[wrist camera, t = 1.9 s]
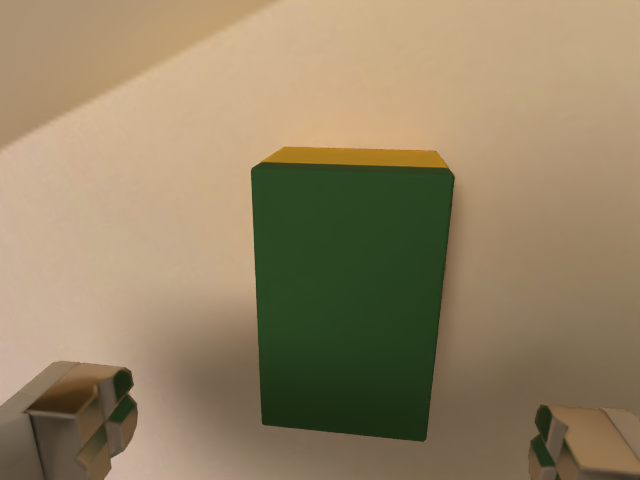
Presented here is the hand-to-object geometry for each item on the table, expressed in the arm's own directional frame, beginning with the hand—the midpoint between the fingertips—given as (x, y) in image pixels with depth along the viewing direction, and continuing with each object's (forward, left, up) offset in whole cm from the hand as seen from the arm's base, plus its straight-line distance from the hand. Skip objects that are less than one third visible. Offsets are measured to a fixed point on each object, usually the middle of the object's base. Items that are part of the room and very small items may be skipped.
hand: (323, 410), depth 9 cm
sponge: (0, 0, -8) cm, 8 cm away
